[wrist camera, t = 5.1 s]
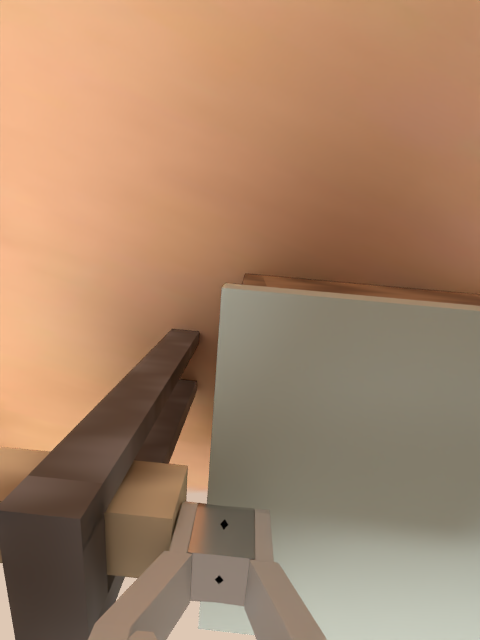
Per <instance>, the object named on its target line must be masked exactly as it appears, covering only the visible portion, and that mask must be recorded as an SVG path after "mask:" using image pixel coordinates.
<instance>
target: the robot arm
mask: <svg viewBox="0 0 480 640" xmlns="http://www.w3.org/2000/svg"><path fill="white" fill-rule="evenodd" d="M190 601H202V602H216V603H223V604H230V605H237V606H244V609H245V612H246V614H247V617H248V619H249V622H250V624H251V627H252V629H253V632H254V634H255V637H256V639H257V640H327V639H326V637H325V635H324V634H323V632H322V631H321V629H320V627H319V626H318V624H317V623H316V621H315V620H314V618H313V616H312V615H311V613H310V612H309V610H308V608H307V607H306V605H305V604H304V602H303V601H302V599H301V597H300V596H299V594H298V593H297V591H296V589H295V588H294V586H293V585H292V583H291V582H290V580H289V578H288V577H287V575H286V574H285V572H284V570H283V569H282V567H281V566H280V564H279V563H277V562H274V557H273V544H272V530H271V517H270V511H269V510H264V509H254V508H244V507H232V506H219V505H211V504H203V503H194V502H186V501H183V503H182V505H181V508H180V512H179V516H178V519H177V523H176V527H175V530H174V534H173V538H172V541H171V545H170V549H169V551H163V552H162V554H161V555H160V556H159V557H158V558H157V559H156V560H155V561H154V562H153V563H152V564H151V565H150V566H149V567H148V568H147V569H146V570H145V571H144V572H143V573H142V574H141V576H140V577H139V578H138V579H137V580H136V581H135V582H134V583H133V584H132V585H131V586H130V587H129V588H128V589H127V590H126V591H125V592H124V593H123V594H122V596H120V598H119V599H118V600H117V601H116V602H115V603H114V604H113V605H112V606H111V607H110V608H109V609H108V610H107V611H106V612H105V613H104V614H103V615H102V616H101V617H100V618H99V620H98V621H97V622H96V623H95V624H94V627H93V629H92V631H91V634H90V636H89V638H88V640H166V639H167V637H168V636H169V634H170V632H171V631H172V630H173V628H174V626H175V625H176V623H177V622H178V620H179V619H180V617H181V616H182V614H183V613H184V611H185V610H186V608H187V606H188V605H189V603H190Z"/></svg>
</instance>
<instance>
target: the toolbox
mask: <svg viewBox="0 0 480 640" xmlns="http://www.w3.org/2000/svg"><path fill="white" fill-rule="evenodd" d="M242 285H253V286H264V287H275V288H287V289H298V290H309V291H320V292H331V293H342V294H353V295H365V296H376V297H387V298H398V299H409V300H420V301H431V302H443V303H454V304H465V305H476V306H480V295H479V294H468V293H457V292H446V291H434V290H423V289H412V288H401V287H390V286H378V285H367V284H356V283H345V282H333V281H322V280H311V279H300V278H289V277H277V276H266V275H255V274H245V276H244V280H243V284H242ZM198 343H199V332H198V331H188V330H177V329H172V330H171V331H170V332H169V333H168V334H167V335H166V336H165V337H164V338H163V339H162V340H161V341H160V342H159V343H158V344H157V345H156V346H155V347H154V348H153V349H152V350H151V351H150V352H149V353H148V354H147V355H146V356H145V357H144V358H143V359H142V360H141V361H140V362H139V363H138V364H137V365H136V366H135V367H134V368H133V369H132V370H131V371H130V372H129V373H128V374H127V375H126V376H125V377H124V378H123V379H122V380H121V381H120V382H119V383H118V384H117V385H116V386H115V387H114V388H113V389H112V390H111V391H110V392H109V393H108V395H107V396H106V397H105V398H104V399H103V400H102V401H101V402H100V403H99V404H98V405H97V406H96V407H95V408H94V409H93V410H92V411H91V412H90V413H89V414H88V415H87V416H86V417H85V418H84V419H83V420H82V421H81V422H80V423H79V424H78V425H77V426H76V427H75V428H74V429H73V430H72V431H71V432H70V433H69V434H68V435H67V436H66V437H65V438H64V439H63V440H62V441H61V442H60V443H59V444H58V445H57V446H56V447H55V448H54V449H53V450H52V451H51V452H50V453H49V454H48V455H47V456H46V457H45V458H44V459H43V460H42V461H41V462H40V463H39V464H38V465H37V466H36V467H35V468H34V469H33V470H32V471H31V472H30V474H29V475H28V476H27V477H26V478H25V479H24V480H23V481H22V482H21V483H20V484H19V485H18V486H17V487H16V488H15V489H14V490H13V491H12V492H11V493H10V494H9V495H8V496H7V497H6V498H5V499H4V500H3V501H2V502H1V503H0V551H1V557H2V563H3V568H4V574H5V580H6V586H7V592H8V598H9V604H10V610H11V616H12V622H13V628H14V633H15V640H88V638H89V636H90V634H91V631H92V629H93V627H94V624H95V623H96V622H97V621H98V620H99V618H100V617H101V616H102V615H103V614H104V613H105V612H106V611H107V610H108V609H109V608H110V607H111V606H112V605H113V604H114V603H115V601H116V598H117V596H118V593H119V590H120V588H121V586H122V583H123V580H124V578H125V577H124V576H115V575H107V562H106V540H105V518H104V513H105V512H106V510H107V508H108V506H109V504H110V503H111V501H112V499H113V497H114V495H115V494H116V492H117V490H118V488H119V486H120V485H121V483H122V481H123V479H124V477H125V476H126V474H127V472H128V470H129V468H130V467H131V465H132V463H133V461H134V460H136V461H146V462H156V463H165V464H169V461H170V459H171V456H172V454H173V451H174V448H175V446H176V443H177V441H178V438H179V435H180V433H181V430H182V428H183V425H184V423H185V420H186V417H187V415H188V412H189V410H190V407H191V404H192V402H193V399H194V397H195V394H196V383H197V381H190V380H180V379H179V378H180V377H181V375H182V373H183V371H184V369H185V368H186V366H187V364H188V362H189V360H190V359H191V357H192V355H193V353H194V351H195V350H196V348H197V346H198Z"/></svg>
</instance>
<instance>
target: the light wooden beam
mask: <svg viewBox="0 0 480 640" xmlns="http://www.w3.org/2000/svg"><path fill="white" fill-rule="evenodd" d="M49 453H50V452H48V451H38V450H28V449H18V448H9V447H0V503H1V502H2V501H3V500H4V499H5V498H6V497H7V496H8V495H9V494H10V493H11V492H12V491H13V490H14V489H15V488H16V487H17V486H18V485H19V484H20V483H21V482H22V481H23V480H24V479H25V478H26V477H27V476H28V475H29V474H30V472H31V471H32V470H33V469H34V468H35V467H36V466H37V465H38V464H39V463H40V462H41V461H42V460H43V459H44V458H45V457H46V456H47V455H48V454H49ZM187 471H188V466H185V465H175V464H165V463H156V462H146V461H136V460H134V461H133V463H132V465H131V467H130V468H129V470H128V472H127V474H126V476H125V477H124V479H123V481H122V483H121V485H120V486H119V488H118V490H117V492H116V494H115V495H114V497H113V499H112V501H111V503H110V504H109V506H108V508H107V510H106V512H105V513H104V518H105V540H106V562H107V575H115V576H124V577H133V578H139V577H140V576H141V574H142V573H143V572H144V571H145V570H146V569H147V568H148V567H149V566H150V565H151V564H152V563H153V562H154V561H155V560H156V559H157V558H158V557H159V556H160V555H161V554H162V552H163V551H169V549H170V545H171V541H172V538H173V534H174V530H175V527H176V523H177V519H178V516H179V512H180V508H181V505H182V503H183V501H186V493H187ZM0 563H2V557H1V551H0Z"/></svg>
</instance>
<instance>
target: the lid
mask: <svg viewBox="0 0 480 640" xmlns="http://www.w3.org/2000/svg"><path fill="white" fill-rule="evenodd" d="M207 504H211V505H219V506H232V507H244V508H254V509H264V510H269V511H270V517H271V530H272V544H273V557H274V562H277V563H279V564H280V566H281V567H282V569H283V570H284V572H285V574H286V575H287V577H288V578H289V580H290V582H291V583H292V585H293V586H294V588H295V589H296V591H297V593H298V594H299V596H300V597H301V599H302V601H303V602H304V604H305V605H306V607H307V608H308V610H309V612H310V613H311V615H312V616H313V618H314V620H315V621H316V623H317V624H318V626H319V627H320V629H321V631H322V632H323V634H324V635H325V637H326V639H327V640H480V306H476V305H465V304H454V303H443V302H431V301H420V300H409V299H398V298H387V297H376V296H365V295H353V294H342V293H331V292H320V291H309V290H298V289H287V288H275V287H264V286H253V285H242V284H231V283H225V284H224V285H223V287H222V291H221V306H220V321H219V335H218V350H217V364H216V379H215V394H214V408H213V423H212V437H211V452H210V466H209V481H208V496H207ZM198 628H199V629H206V630H214V631H223V632H232V633H241V634H250V635H255V634H254V632H253V629H252V627H251V624H250V622H249V619H248V617H247V614H246V612H245V609H244V606H237V605H230V604H223V603H216V602H202V601H200V612H199V627H198Z"/></svg>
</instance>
